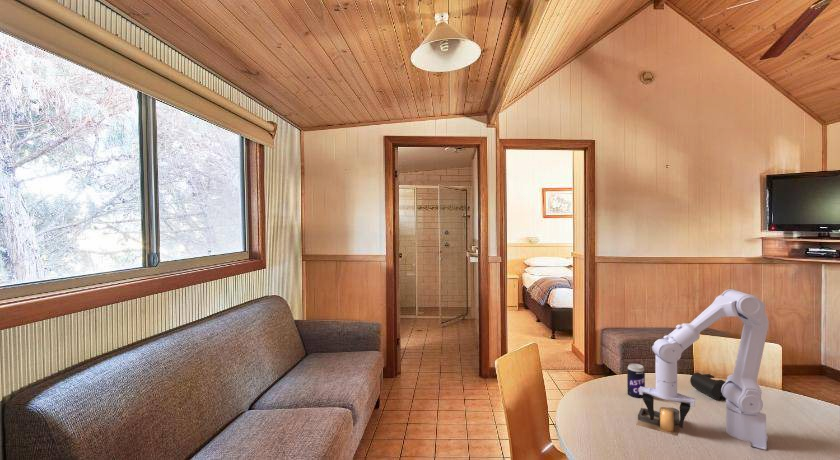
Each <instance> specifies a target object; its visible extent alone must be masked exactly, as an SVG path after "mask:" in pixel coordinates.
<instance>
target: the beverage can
mask: <svg viewBox="0 0 840 460" xmlns="http://www.w3.org/2000/svg"><path fill="white" fill-rule="evenodd" d="M626 372H627V373H626V377H627V378H626V379H627V381H626V382H627V395H628V396H629V397H631V398H635V399H643V395H640V394H639V388H640V386H641V387H646V373H645V372H646V371H645V368H644V365H642V364H639V363H634V362H633V363H629V364H628V366H627V370H626Z"/></svg>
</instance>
